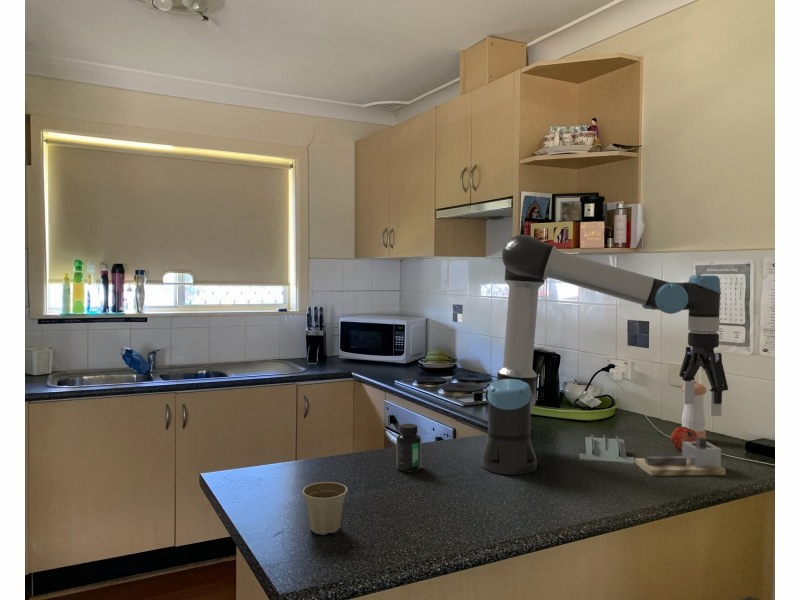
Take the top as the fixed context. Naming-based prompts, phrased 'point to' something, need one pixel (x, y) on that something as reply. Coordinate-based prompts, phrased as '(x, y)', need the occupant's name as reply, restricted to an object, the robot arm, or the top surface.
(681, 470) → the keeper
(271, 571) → the top surface
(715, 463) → the grey square socket block
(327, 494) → the flower pot
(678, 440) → the pomegranate
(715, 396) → the robot arm
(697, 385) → the pepper shaker
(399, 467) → the supplement bottle
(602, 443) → the metal bracket
